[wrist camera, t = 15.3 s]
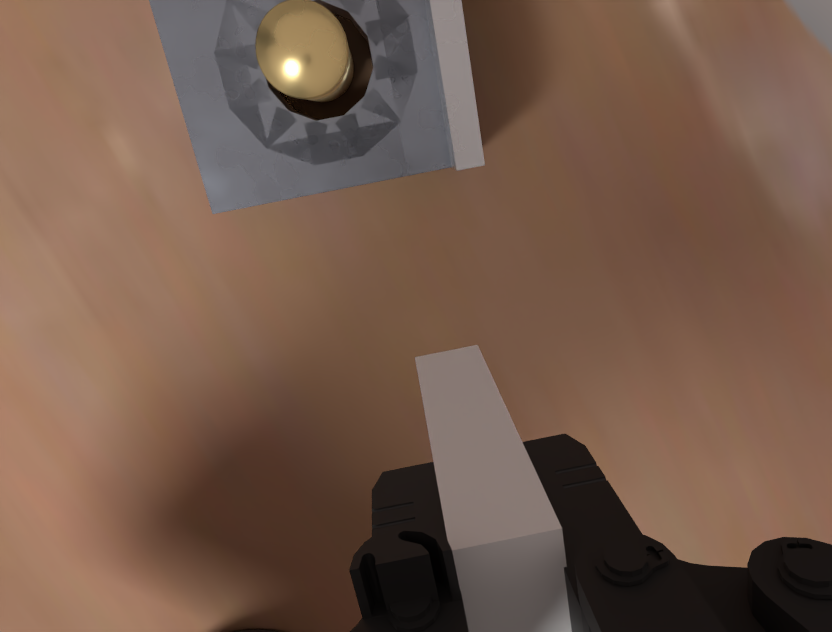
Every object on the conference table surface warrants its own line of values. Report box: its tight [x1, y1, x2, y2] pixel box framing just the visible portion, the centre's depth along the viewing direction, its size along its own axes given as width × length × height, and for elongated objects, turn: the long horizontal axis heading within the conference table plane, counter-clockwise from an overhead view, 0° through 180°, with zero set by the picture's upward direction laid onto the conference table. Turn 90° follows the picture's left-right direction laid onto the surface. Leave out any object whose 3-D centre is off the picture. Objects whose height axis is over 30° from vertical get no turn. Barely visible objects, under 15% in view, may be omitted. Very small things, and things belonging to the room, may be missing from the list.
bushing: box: [255, 0, 354, 102], centre depth 31 cm, size 4×4×10 cm
